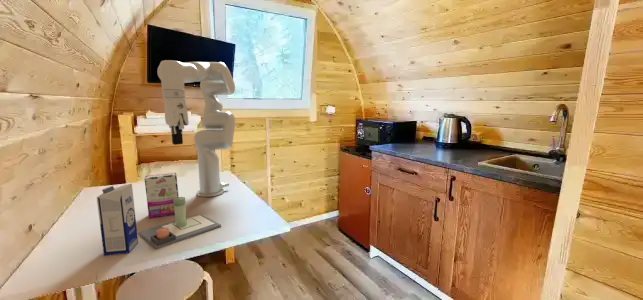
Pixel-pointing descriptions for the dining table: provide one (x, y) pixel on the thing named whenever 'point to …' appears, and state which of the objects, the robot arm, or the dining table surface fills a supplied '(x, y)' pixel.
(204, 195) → the robot arm
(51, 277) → the dining table surface
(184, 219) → the green cylinder
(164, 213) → the candy bar box
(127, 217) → the milk carton
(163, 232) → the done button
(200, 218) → the drawing board
